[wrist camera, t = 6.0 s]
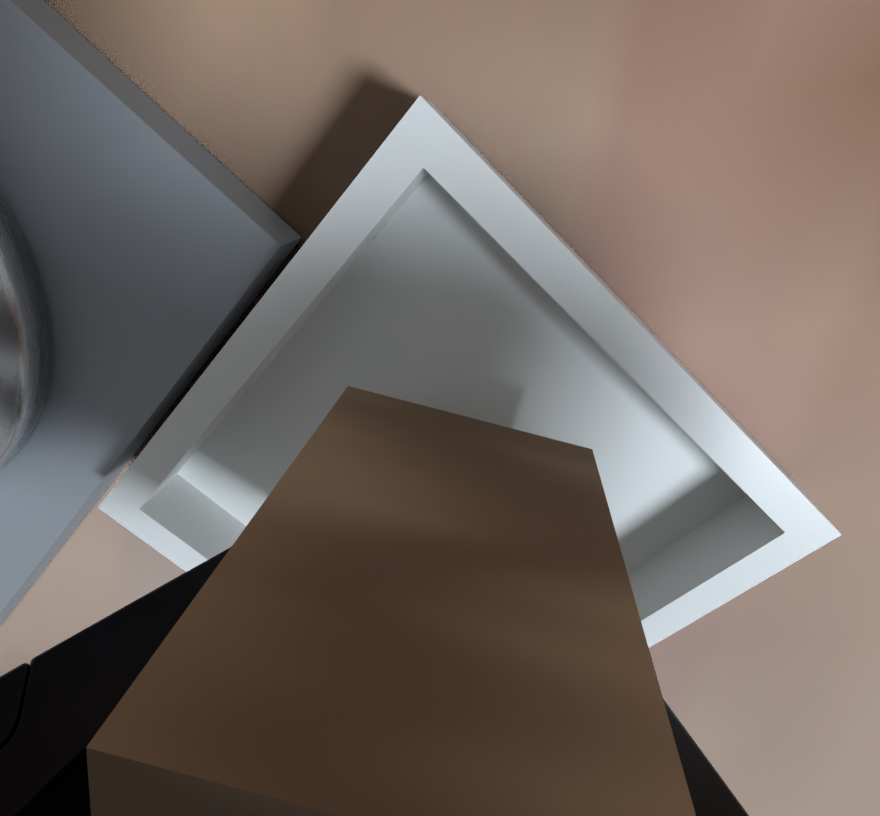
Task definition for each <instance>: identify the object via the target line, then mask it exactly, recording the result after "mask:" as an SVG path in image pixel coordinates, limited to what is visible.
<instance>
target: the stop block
mask: <svg viewBox="0 0 880 816" xmlns="http://www.w3.org/2000/svg"><path fill="white" fill-rule="evenodd" d="M86 753H87V767H88V781H89V795H90V809H91V816H696V814H695V810H694V807H693V803H692V800H691V796H690V793H689V789H688V786H687V782H686V779H685V775H684V771H683V768H682V764H681V761H680V757H679V754H678V750H677V747H676V743H675V740H674V736H673V733H672V729H671V726H670V722H669V718H668V715H667V711H666V708H665V704H664V701H663V697H662V694H661V690H660V687H659V683H658V680H657V676H656V673H655V669H654V665H653V662H652V658H651V655H650V651H649V648H648V644H647V641H646V637H645V634H644V630H643V627H642V623H641V620H640V616H639V613H638V609H637V605H636V602H635V598H634V595H633V591H632V588H631V584H630V581H629V577H628V574H627V570H626V567H625V563H624V560H623V556H622V552H621V549H620V545H619V542H618V538H617V535H616V531H615V528H614V524H613V521H612V517H611V514H610V510H609V507H608V503H607V500H606V496H605V492H604V489H603V485H602V482H601V478H600V475H599V471H598V468H597V464H596V461H595V457H594V454H593V450H592V449H590V448H586V447H582V446H578V445H574V444H570V443H566V442H562V441H559V440H555V439H551V438H547V437H543V436H539V435H535V434H532V433H528V432H524V431H520V430H516V429H512V428H508V427H505V426H501V425H497V424H493V423H489V422H485V421H481V420H478V419H474V418H470V417H466V416H462V415H458V414H454V413H450V412H447V411H443V410H439V409H435V408H431V407H427V406H423V405H420V404H416V403H412V402H408V401H404V400H400V399H396V398H393V397H389V396H385V395H381V394H377V393H373V392H369V391H366V390H362V389H358V388H354V387H350V386H348V387H347V388H346V389H345V391H344V392H343V393H342V395H341V396H340V398H339V399H338V400H337V402H336V403H335V405H334V406H333V407H332V409H331V410H330V411H329V413H328V414H327V416H326V417H325V418H324V420H323V421H322V422H321V424H320V425H319V427H318V428H317V429H316V431H315V432H314V433H313V435H312V436H311V438H310V439H309V440H308V442H307V443H306V445H305V446H304V447H303V449H302V450H301V451H300V453H299V454H298V456H297V457H296V458H295V460H294V461H293V462H292V464H291V465H290V467H289V468H288V469H287V471H286V472H285V474H284V475H283V476H282V478H281V479H280V480H279V482H278V483H277V485H276V486H275V487H274V489H273V490H272V491H271V493H270V494H269V496H268V497H267V498H266V500H265V501H264V503H263V504H262V505H261V507H260V508H259V509H258V511H257V512H256V514H255V515H254V516H253V518H252V519H251V520H250V522H249V523H248V525H247V526H246V527H245V529H244V530H243V532H242V533H241V534H240V536H239V537H238V538H237V540H236V541H235V543H234V544H233V545H232V547H231V548H230V549H229V551H228V552H227V554H226V555H225V556H224V558H223V559H222V560H221V562H220V563H219V565H218V566H217V567H216V569H215V570H214V572H213V573H212V574H211V576H210V577H209V578H208V580H207V581H206V583H205V584H204V585H203V587H202V588H201V589H200V591H199V592H198V594H197V595H196V596H195V598H194V599H193V601H192V602H191V603H190V605H189V606H188V607H187V609H186V610H185V612H184V613H183V614H182V616H181V617H180V618H179V620H178V621H177V623H176V624H175V625H174V627H173V628H172V630H171V631H170V632H169V634H168V635H167V636H166V638H165V639H164V641H163V642H162V643H161V645H160V646H159V647H158V649H157V650H156V652H155V653H154V654H153V656H152V657H151V658H150V660H149V661H148V663H147V664H146V665H145V667H144V668H143V670H142V671H141V672H140V674H139V675H138V676H137V678H136V679H135V681H134V682H133V683H132V685H131V686H130V687H129V689H128V690H127V692H126V693H125V694H124V696H123V697H122V699H121V700H120V701H119V703H118V704H117V705H116V707H115V708H114V710H113V711H112V712H111V714H110V715H109V716H108V718H107V719H106V721H105V722H104V723H103V725H102V726H101V728H100V729H99V730H98V732H97V733H96V734H95V736H94V737H93V739H92V740H91V741H90V743H89V744H88V745H87V747H86Z"/></svg>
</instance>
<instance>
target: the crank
mask: <svg viewBox="0 0 880 816" xmlns="http://www.w3.org/2000/svg"><path fill="white" fill-rule="evenodd" d="M51 353H52V349H51V339H50V329H49V319H48V315H47V310H46V306H45V302H44V297H43V293H42V288H41V284H40V282H39V279H38V276H37V273H36V270H35V267H34V264H33V261H32V259H31V256H30V253H29V250H28V248H27V246H26V243H25V241H24V239H23V237H22V235H21V233H20V231H19V228H18V226H17V224H16V222H15V220H14V218H13V216H12V213H11V212H10V210H9V208H8V207H7V205H6V203H5V201H4V200H3V198H2V196H1V195H0V469H1V468H3V467H4V466H5V465H7V464H8V463H9V462H11V461H12V460H13V459H14V458H15V457H16V455H17V454H18V453H19V452H20V451H21V450H22V449H23V448H24V447H25V446H26V444H27V442H28V441H29V439H30V438H31V436H32V434H33V433H34V431H35V429H36V428H37V426H38V423H39V421H40V418H41V415H42V413H43V410H44V407H45V405H46V400H47V395H48V390H49V384H50V379H51Z"/></svg>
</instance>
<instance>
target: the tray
mask: <svg viewBox="0 0 880 816" xmlns="http://www.w3.org/2000/svg"><path fill="white" fill-rule="evenodd" d="M348 386H350V387H354V388H358V389H362V390H366V391H369V392H373V393H377V394H381V395H385V396H389V397H393V398H396V399H400V400H404V401H408V402H412V403H416V404H420V405H423V406H427V407H431V408H435V409H439V410H443V411H447V412H450V413H454V414H458V415H462V416H466V417H470V418H474V419H478V420H481V421H485V422H489V423H493V424H497V425H501V426H505V427H508V428H512V429H516V430H520V431H524V432H528V433H532V434H535V435H539V436H543V437H547V438H551V439H555V440H559V441H562V442H566V443H570V444H574V445H578V446H582V447H586V448H590V449H592V450H593V454H594V457H595V461H596V464H597V468H598V471H599V475H600V478H601V482H602V485H603V489H604V492H605V496H606V500H607V503H608V507H609V510H610V514H611V517H612V521H613V524H614V528H615V531H616V535H617V538H618V542H619V545H620V549H621V552H622V556H623V560H624V563H625V567H626V570H627V574H628V577H629V581H630V584H631V588H632V591H633V595H634V598H635V602H636V605H637V609H638V613H639V616H640V620H641V623H642V627H643V630H644V634H645V637H646V641H647V644H648V648H649V647H651V646H653V645H655V644H656V643H658V642H660V641H661V640H663V639H665V638H666V637H668V636H670V635H672V634H673V633H675V632H677V631H678V630H680V629H682V628H684V627H685V626H687V625H689V624H690V623H692V622H694V621H695V620H697V619H699V618H701V617H702V616H704V615H706V614H707V613H709V612H711V611H713V610H714V609H716V608H718V607H719V606H721V605H723V604H724V603H726V602H728V601H730V600H731V599H733V598H735V597H736V596H738V595H740V594H742V593H743V592H745V591H747V590H748V589H750V588H752V587H753V586H755V585H757V584H759V583H760V582H762V581H764V580H765V579H767V578H769V577H771V576H772V575H774V574H776V573H777V572H779V571H781V570H782V569H784V568H786V567H788V566H789V565H791V564H793V563H794V562H796V561H798V560H800V559H801V558H803V557H805V556H806V555H808V554H810V553H811V552H813V551H815V550H817V549H818V548H820V547H822V546H823V545H825V544H827V543H829V542H830V541H832V540H834V539H835V538H837V537H839V536H840V535H841V534H840V532H839V531H838V530H837V529H836V528H835V527H834V526H833V524H832V523H831V522H830V521H829V520H828V519H827V518H826V517H825V515H824V514H823V513H822V512H821V511H820V510H819V509H818V507H817V506H816V505H815V504H814V503H813V502H812V501H811V500H810V498H809V497H808V496H807V495H806V494H805V493H804V492H803V490H802V489H801V488H800V487H799V486H798V485H797V484H796V483H795V481H794V480H793V479H792V478H791V477H790V476H789V475H788V474H787V473H786V472H785V471H784V470H783V468H782V467H781V466H780V465H779V464H778V463H777V462H776V461H775V460H774V459H773V458H772V457H771V456H770V455H769V454H768V453H767V452H766V451H765V450H764V449H763V448H762V447H761V445H760V444H759V443H758V442H757V441H756V440H755V439H754V438H753V437H752V436H751V435H750V434H749V433H748V432H747V431H746V430H745V429H744V428H743V427H742V426H741V425H740V424H739V422H738V421H737V420H736V419H735V418H734V417H733V416H732V415H731V414H730V413H729V412H728V411H727V410H726V409H725V408H724V407H723V406H722V405H721V404H720V403H719V402H718V401H717V399H716V398H715V397H714V396H713V395H712V394H711V393H710V392H709V391H708V390H707V389H706V388H705V387H704V386H703V385H702V384H701V383H700V382H699V381H698V380H697V379H696V378H695V376H694V375H693V374H692V373H691V372H690V371H689V370H688V369H687V368H686V367H685V366H684V365H683V364H682V363H681V362H680V361H679V360H678V359H677V358H676V357H675V356H674V355H673V353H672V352H671V351H670V350H669V349H668V348H667V347H666V346H665V345H664V344H663V343H662V342H661V341H660V340H659V339H658V338H657V337H656V336H655V335H654V334H653V333H652V332H651V330H650V329H649V328H648V327H647V326H646V325H645V324H644V323H643V322H642V321H641V320H640V319H639V318H638V317H637V316H636V315H635V314H634V313H633V312H632V311H631V310H630V308H629V307H628V306H627V305H626V304H625V303H624V302H623V301H622V300H621V299H620V298H619V297H618V296H617V295H616V294H615V293H614V292H613V291H612V290H611V289H610V288H609V287H608V285H607V284H606V283H605V282H604V281H603V280H602V279H601V278H600V277H599V276H598V275H597V274H596V273H595V272H594V271H593V270H592V269H591V268H590V267H589V266H588V265H587V264H586V262H585V261H584V260H583V259H582V258H581V257H580V256H579V255H578V254H577V253H576V252H575V251H574V250H573V249H572V248H571V247H570V246H569V245H568V244H567V243H566V242H565V241H564V239H563V238H562V237H561V236H560V235H559V234H558V233H557V232H556V231H555V230H554V229H553V228H552V227H551V226H550V225H549V224H548V223H547V222H546V221H545V220H544V219H543V218H542V216H541V215H540V214H539V213H538V212H537V211H536V210H535V209H534V208H533V207H532V206H531V205H530V204H529V203H528V202H527V201H526V200H525V199H524V198H523V197H522V196H521V195H520V193H519V192H518V191H517V190H516V189H515V188H514V187H513V186H512V185H511V184H510V183H509V182H508V181H507V180H506V179H505V178H504V177H503V176H502V175H501V174H500V173H499V172H498V170H497V169H496V168H495V167H494V166H493V165H492V164H491V163H490V162H489V161H488V160H487V159H486V158H485V157H484V156H483V155H482V154H481V153H480V152H479V151H478V150H477V149H476V147H475V146H474V145H473V144H472V143H471V142H470V141H469V140H468V139H467V138H466V137H465V136H464V135H463V134H462V133H461V132H460V131H459V130H458V129H457V128H456V127H455V125H454V124H453V123H452V122H451V121H450V120H449V119H448V118H447V117H446V116H445V115H444V114H443V113H442V112H441V111H440V110H439V109H438V108H437V107H436V106H435V105H433V104H432V103H430V102H429V101H428V100H426V99H425V98H423V97H422V96H421V95H420V96H419V97H418V98H417V100H416V101H415V102H414V104H413V105H412V106H411V107H410V109H409V110H408V111H407V113H406V114H405V115H404V116H403V118H402V119H401V120H400V122H399V123H398V124H397V125H396V127H395V128H394V129H393V130H392V132H391V133H390V134H389V136H388V137H387V138H386V139H385V141H384V142H383V143H382V145H381V146H380V147H379V148H378V150H377V151H376V152H375V153H374V155H373V156H372V157H371V159H370V160H369V161H368V162H367V164H366V165H365V166H364V168H363V169H362V170H361V171H360V173H359V174H358V175H357V177H356V178H355V179H354V180H353V182H352V183H351V184H350V185H349V187H348V188H347V189H346V191H345V192H344V193H343V194H342V196H341V197H340V198H339V200H338V201H337V202H336V203H335V205H334V206H333V207H332V209H331V210H330V211H329V212H328V214H327V215H326V216H325V217H324V219H323V220H322V221H321V223H320V224H319V225H318V226H317V228H316V229H315V230H314V232H313V233H312V234H311V235H310V237H309V238H308V239H307V241H306V242H305V243H304V244H303V246H302V247H301V248H300V249H299V251H298V252H297V253H296V255H295V256H294V257H293V258H292V260H291V261H290V262H289V264H288V265H287V266H286V267H285V269H284V270H283V271H282V273H281V274H280V275H279V276H278V278H277V279H276V280H275V281H274V283H273V284H272V285H271V287H270V288H269V289H268V290H267V292H266V293H265V294H264V296H263V297H262V298H261V299H260V301H259V302H258V303H257V304H256V306H255V307H254V308H253V310H252V311H251V312H250V313H249V315H248V316H247V317H246V319H245V320H244V321H243V322H242V324H241V325H240V326H239V328H238V329H237V330H236V331H235V333H234V334H233V335H232V336H231V338H230V339H229V340H228V342H227V343H226V344H225V345H224V347H223V348H222V349H221V351H220V352H219V353H218V354H217V356H216V357H215V358H214V360H213V361H212V362H211V363H210V365H209V366H208V367H207V368H206V370H205V371H204V372H203V374H202V375H201V376H200V377H199V379H198V380H197V381H196V383H195V384H194V385H193V386H192V388H191V389H190V390H189V392H188V393H187V394H186V395H185V397H184V398H183V399H182V400H181V402H180V403H179V404H178V406H177V407H176V408H175V409H174V411H173V412H172V413H171V415H170V416H169V417H168V418H167V420H166V421H165V422H164V424H163V425H162V426H161V427H160V429H159V430H158V431H157V432H156V434H155V435H154V436H153V438H152V439H151V440H150V441H149V443H148V444H147V445H146V447H145V448H144V449H143V450H142V452H141V453H140V454H139V456H138V457H137V458H136V459H135V461H134V462H133V463H132V464H131V466H130V467H129V468H128V470H127V471H126V472H125V473H124V475H123V476H122V477H121V479H120V480H119V481H118V482H117V484H116V485H115V486H114V487H113V489H112V490H111V491H110V493H109V494H108V495H107V496H106V498H105V499H104V500H103V502H102V503H101V504H100V505H99V507H98V508H99V509H100V510H102V511H103V512H104V513H106V514H107V515H109V516H110V517H111V518H113V519H114V520H116V521H117V522H118V523H120V524H121V525H122V526H124V527H125V528H127V529H128V530H129V531H131V532H132V533H133V534H135V535H136V536H138V537H139V538H140V539H142V540H143V541H144V542H146V543H147V544H149V545H150V546H151V547H153V548H154V549H155V550H157V551H158V552H160V553H161V554H162V555H164V556H165V557H166V558H168V559H169V560H171V561H172V562H173V563H175V564H176V565H177V566H179V567H180V568H182V569H183V570H184V571H186V572H187V571H189V570H191V569H192V568H194V567H196V566H198V565H199V564H201V563H203V562H205V561H207V560H208V559H210V558H212V557H214V556H215V555H217V554H219V553H221V552H223V551H224V550H226V549H228V548H230V547H231V546H232V545H233V544H234V543H235V541H236V540H237V538H238V537H239V536H240V534H241V533H242V532H243V530H244V529H245V527H246V526H247V525H248V523H249V522H250V520H251V519H252V518H253V516H254V515H255V514H256V512H257V511H258V509H259V508H260V507H261V505H262V504H263V503H264V501H265V500H266V498H267V497H268V496H269V494H270V493H271V491H272V490H273V489H274V487H275V486H276V485H277V483H278V482H279V480H280V479H281V478H282V476H283V475H284V474H285V472H286V471H287V469H288V468H289V467H290V465H291V464H292V462H293V461H294V460H295V458H296V457H297V456H298V454H299V453H300V451H301V450H302V449H303V447H304V446H305V445H306V443H307V442H308V440H309V439H310V438H311V436H312V435H313V433H314V432H315V431H316V429H317V428H318V427H319V425H320V424H321V422H322V421H323V420H324V418H325V417H326V416H327V414H328V413H329V411H330V410H331V409H332V407H333V406H334V405H335V403H336V402H337V400H338V399H339V398H340V396H341V395H342V393H343V392H344V391H345V389H346V388H347V387H348Z"/></svg>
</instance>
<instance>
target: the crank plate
mask: <svg viewBox="0 0 880 816" xmlns="http://www.w3.org/2000/svg"><path fill="white" fill-rule="evenodd" d="M0 195H1V196H2V198H3V200H4V201H5V203H6V205H7V207H8V208H9V210H10V212H11V213H12V216H13V218H14V220H15V222H16V224H17V226H18V228H19V231H20V233H21V235H22V237H23V239H24V241H25V243H26V246H27V248H28V250H29V253H30V256H31V259H32V261H33V264H34V267H35V270H36V273H37V276H38V279H39V282H40V284H41V288H42V293H43V297H44V302H45V306H46V310H47V315H48V319H49V329H50V339H51V349H52V353H51V379H50V384H49V390H48V395H47V400H46V405H45V407H44V410H43V413H42V415H41V418H40V421H39V423H38V426H37V428H36V429H35V431H34V433H33V434H32V436H31V438H30V439H29V441H28V442H27V444H26V446H25V447H24V448H23V449H22V450H21V451H20V452H19V453H18V454H17V455H16V457H15V458H14V459H13V460H12V461H11V462H9V463H8V464H7V465H5V466H4V467H3V468H1V469H0V626H1V625H2V624H3V622H4V621H5V620H6V619H7V617H8V616H9V615H10V613H11V612H12V611H13V610H14V608H15V607H16V606H17V604H18V603H19V602H20V601H21V599H22V598H23V597H24V595H25V594H26V593H27V592H28V590H29V589H30V588H31V586H32V585H33V584H34V582H35V581H36V580H37V579H38V577H39V576H40V575H41V573H42V572H43V571H44V570H45V568H46V567H47V566H48V564H49V563H50V562H51V561H52V559H53V558H54V557H55V555H56V554H57V553H58V552H59V550H60V549H61V548H62V546H63V545H64V544H65V542H66V541H67V540H68V539H69V537H70V536H71V535H72V533H73V532H74V531H75V530H76V528H77V527H78V526H79V524H80V523H81V522H82V521H83V519H84V518H85V517H86V515H87V514H88V513H89V512H90V510H91V509H92V508H93V506H94V505H95V504H96V503H97V501H98V500H99V499H100V497H101V496H102V495H103V493H104V492H105V491H106V490H107V488H108V487H109V486H110V484H111V483H112V482H113V481H114V479H115V478H116V477H117V475H118V474H119V473H120V472H121V470H122V469H123V468H124V466H125V465H126V464H127V463H128V461H129V460H130V459H131V457H132V456H133V455H134V454H135V452H136V451H137V450H138V448H139V447H140V446H141V444H142V443H143V442H144V441H145V439H146V438H147V437H148V435H149V434H150V433H151V432H152V430H153V429H154V428H155V426H156V425H157V424H158V423H159V421H160V420H161V419H162V417H163V416H164V415H165V414H166V412H167V411H168V410H169V408H170V407H171V406H172V404H173V403H174V402H175V401H176V399H177V398H178V397H179V395H180V394H181V393H182V392H183V390H184V389H185V388H186V386H187V385H188V384H189V383H190V381H191V380H192V379H193V377H194V376H195V375H196V374H197V372H198V371H199V370H200V368H201V367H202V366H203V365H204V363H205V362H206V361H207V359H208V358H209V357H210V355H211V354H212V353H213V352H214V350H215V349H216V348H217V346H218V345H219V344H220V343H221V341H222V340H223V339H224V337H225V336H226V335H227V334H228V332H229V331H230V330H231V328H232V327H233V326H234V325H235V323H236V322H237V321H238V319H239V318H240V317H241V315H242V314H243V313H244V312H245V310H246V309H247V308H248V306H249V305H250V304H251V303H252V301H253V300H254V299H255V297H256V296H257V295H258V294H259V292H260V291H261V290H262V288H263V287H264V286H265V285H266V283H267V282H268V281H269V279H270V278H271V277H272V276H273V274H274V273H275V272H276V270H277V269H278V268H279V266H280V265H281V264H282V263H283V261H284V260H285V259H286V257H287V256H288V255H289V254H290V252H291V251H292V250H293V248H294V247H295V246H296V245H297V243H298V242H299V241H300V239H301V238H302V237H301V236H300V235H299V234H298V233H296V232H295V231H294V230H293V229H292V228H291V227H290V226H289V225H288V224H287V223H286V222H284V221H283V220H282V219H281V218H280V217H279V216H278V215H277V214H276V213H275V212H274V211H273V210H271V209H270V208H269V207H268V206H267V205H266V204H265V203H264V202H263V201H262V200H261V199H259V198H258V197H257V196H256V195H255V194H254V193H253V192H252V191H251V190H250V189H249V188H248V187H246V186H245V185H244V184H243V183H242V182H241V181H240V180H239V179H238V178H237V177H236V176H234V175H233V174H232V173H231V172H230V171H229V170H228V169H227V168H226V167H225V166H224V165H223V164H221V163H220V162H219V161H218V160H217V159H216V158H215V157H214V156H213V155H212V154H211V153H209V152H208V151H207V150H206V149H205V148H204V147H203V146H202V145H201V144H200V143H199V142H198V141H196V140H195V139H194V138H193V137H192V136H191V135H190V134H189V133H188V132H187V131H186V130H184V129H183V128H182V127H181V126H180V125H179V124H178V123H177V122H176V121H175V120H174V119H173V118H171V117H170V116H169V115H168V114H167V113H166V112H165V111H164V110H163V109H162V108H161V107H159V106H158V105H157V104H156V103H155V102H154V101H153V100H152V99H151V98H150V97H149V96H148V95H146V94H145V93H144V92H143V91H142V90H141V89H140V88H139V87H138V86H137V85H136V84H134V83H133V82H132V81H131V80H130V79H129V78H128V77H127V76H126V75H125V74H124V73H122V72H121V71H120V70H119V69H118V68H117V67H116V66H115V65H114V64H113V63H112V62H111V61H109V60H108V59H107V58H106V57H105V56H104V55H103V54H102V53H101V52H100V51H99V50H97V49H96V48H95V47H94V46H93V45H92V44H91V43H90V42H89V41H88V40H87V39H86V38H84V37H83V36H82V35H81V34H80V33H79V32H78V31H77V30H76V29H75V28H74V27H72V26H71V25H70V24H69V23H68V22H67V21H66V20H65V19H64V18H63V17H62V16H61V15H59V14H58V13H57V12H56V11H55V10H54V9H53V8H52V7H51V6H50V5H49V4H47V3H46V2H45V1H44V0H0Z"/></svg>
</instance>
